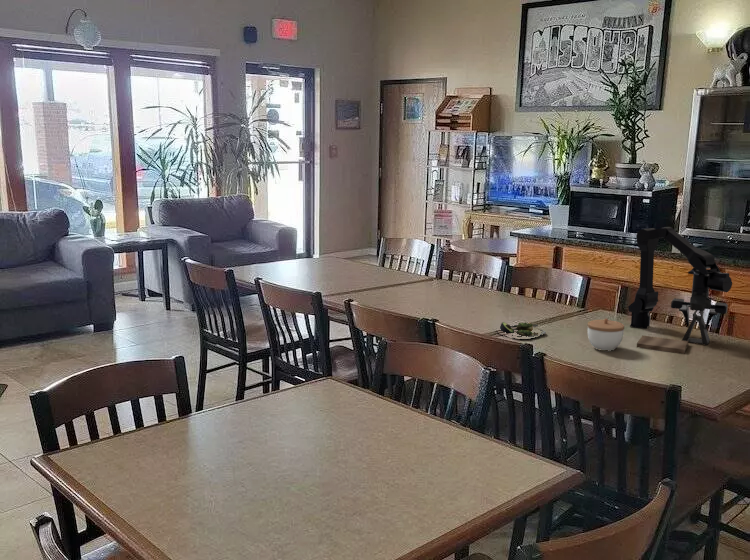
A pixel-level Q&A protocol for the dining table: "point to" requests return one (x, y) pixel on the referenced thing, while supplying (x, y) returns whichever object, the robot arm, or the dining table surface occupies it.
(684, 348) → the walnut board
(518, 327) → the salad plate
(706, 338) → the gray triangular stand
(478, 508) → the dining table surface
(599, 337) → the lidded bowl
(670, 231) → the robot arm
